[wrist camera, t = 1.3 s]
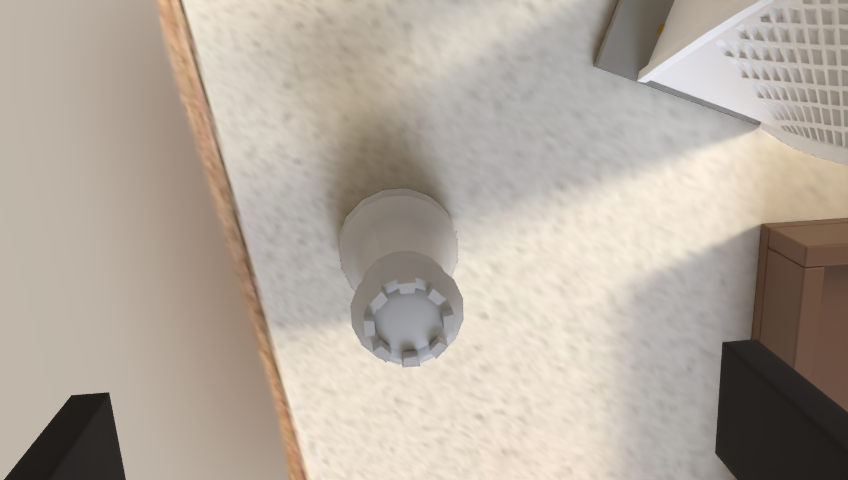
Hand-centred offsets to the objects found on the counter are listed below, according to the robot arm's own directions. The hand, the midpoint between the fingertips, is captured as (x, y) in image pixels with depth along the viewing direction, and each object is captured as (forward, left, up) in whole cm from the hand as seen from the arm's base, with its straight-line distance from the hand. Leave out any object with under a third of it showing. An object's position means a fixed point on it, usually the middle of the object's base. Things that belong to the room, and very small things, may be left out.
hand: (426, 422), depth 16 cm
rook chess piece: (0, 0, -13) cm, 13 cm away
